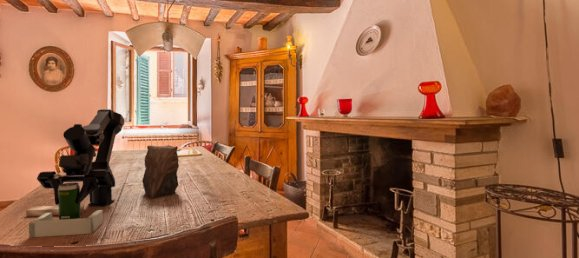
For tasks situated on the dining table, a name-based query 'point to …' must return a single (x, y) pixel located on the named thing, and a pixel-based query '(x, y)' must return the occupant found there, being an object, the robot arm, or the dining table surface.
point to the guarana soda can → (69, 201)
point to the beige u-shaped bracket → (64, 225)
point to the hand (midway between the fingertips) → (67, 203)
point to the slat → (45, 210)
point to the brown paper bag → (160, 171)
